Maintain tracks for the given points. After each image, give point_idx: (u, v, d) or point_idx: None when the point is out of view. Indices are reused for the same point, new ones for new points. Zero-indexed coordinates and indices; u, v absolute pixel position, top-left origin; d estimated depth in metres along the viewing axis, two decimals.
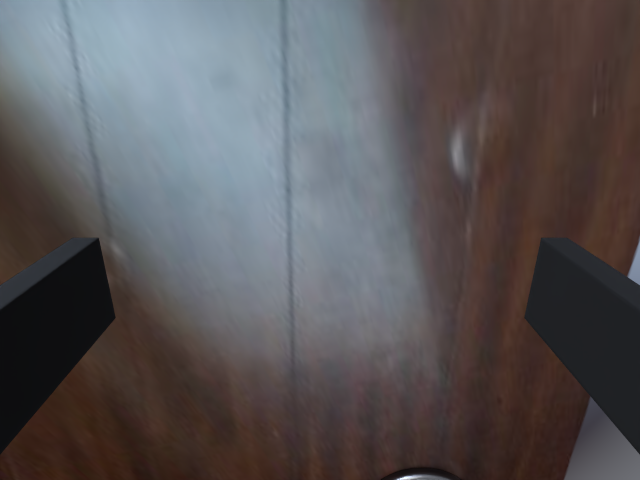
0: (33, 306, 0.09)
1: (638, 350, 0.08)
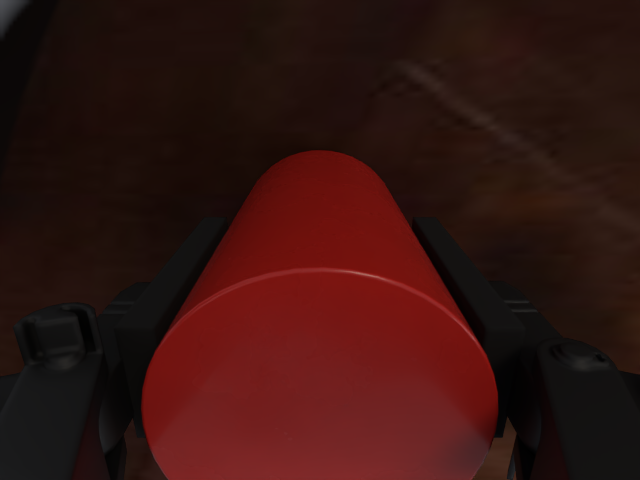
0: None
1: None
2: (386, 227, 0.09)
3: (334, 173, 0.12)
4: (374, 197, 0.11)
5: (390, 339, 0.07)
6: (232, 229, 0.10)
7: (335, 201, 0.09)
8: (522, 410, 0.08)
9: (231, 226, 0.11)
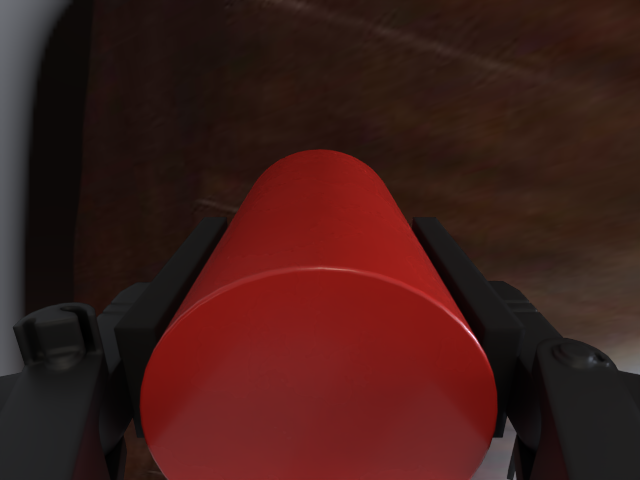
0: None
1: None
2: (385, 226, 0.09)
3: (333, 172, 0.12)
4: (373, 196, 0.11)
5: (388, 338, 0.06)
6: (231, 228, 0.10)
7: (334, 200, 0.09)
8: (522, 410, 0.08)
9: (230, 225, 0.11)
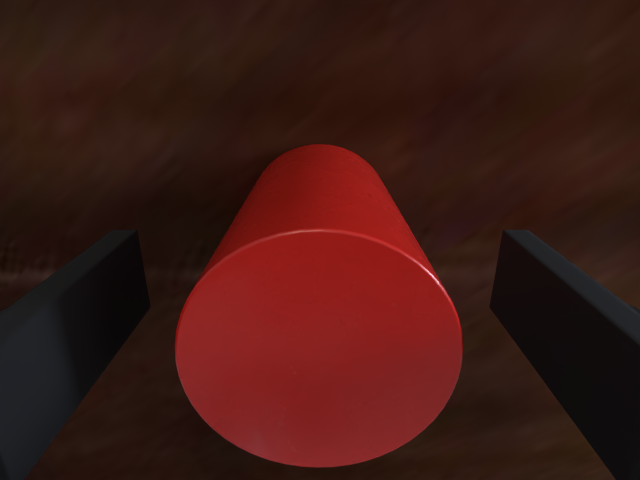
0: (86, 292, 0.10)
1: (577, 332, 0.09)
2: (374, 204, 0.10)
3: (332, 162, 0.14)
4: (366, 182, 0.13)
5: (374, 287, 0.08)
6: (244, 208, 0.12)
7: (332, 183, 0.11)
8: None
9: (242, 207, 0.12)
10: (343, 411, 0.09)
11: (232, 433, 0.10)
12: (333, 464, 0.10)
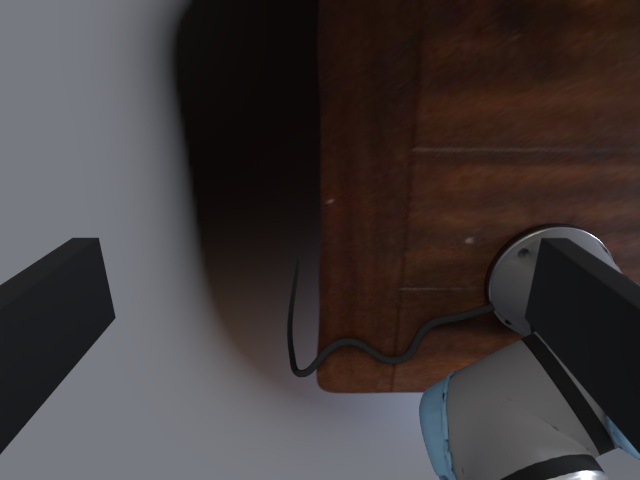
0: (33, 306, 0.09)
1: (638, 350, 0.08)
2: None
3: None
4: None
5: None
6: None
7: None
8: None
9: None
10: None
11: None
12: None
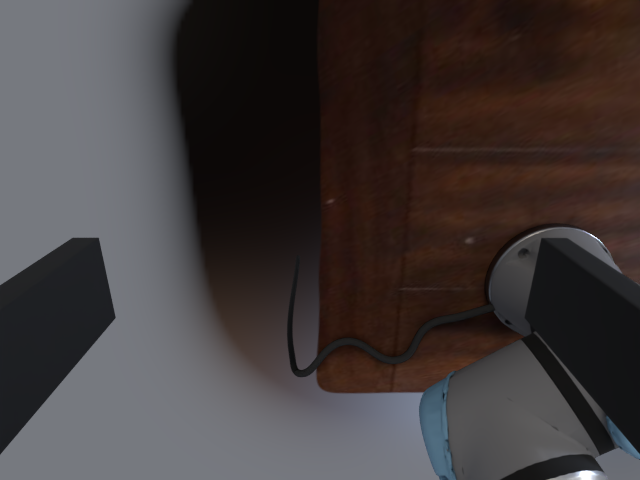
0: (33, 306, 0.09)
1: (638, 350, 0.08)
2: None
3: None
4: None
5: None
6: None
7: None
8: None
9: None
10: None
11: None
12: None
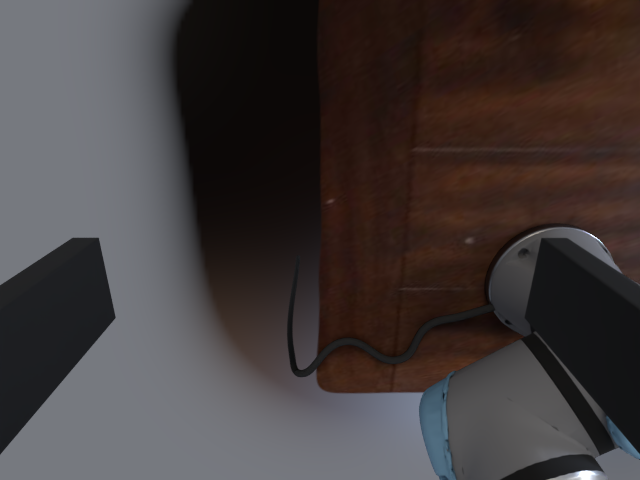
0: (33, 306, 0.09)
1: (638, 350, 0.08)
2: None
3: None
4: None
5: None
6: None
7: None
8: None
9: None
10: None
11: None
12: None
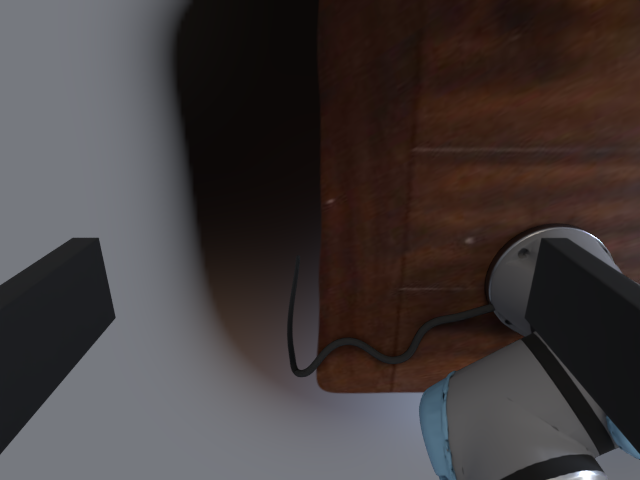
0: (33, 306, 0.09)
1: (638, 350, 0.08)
2: None
3: None
4: None
5: None
6: None
7: None
8: None
9: None
10: None
11: None
12: None
